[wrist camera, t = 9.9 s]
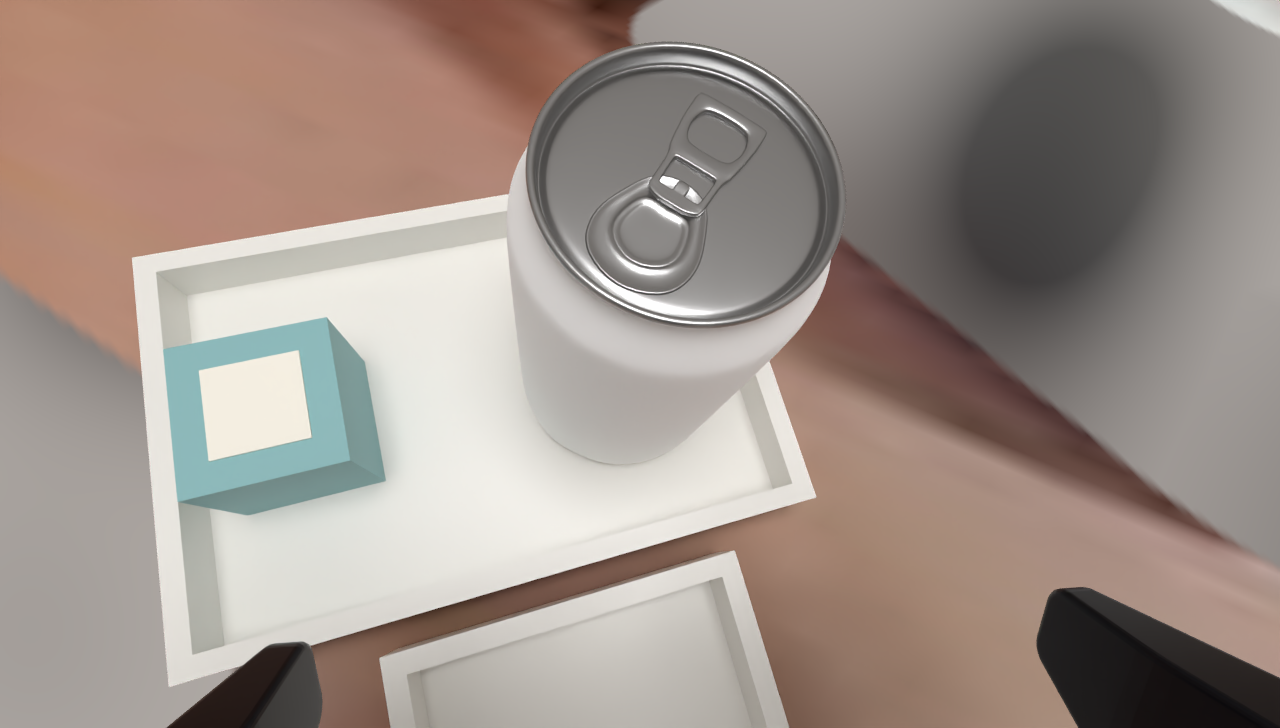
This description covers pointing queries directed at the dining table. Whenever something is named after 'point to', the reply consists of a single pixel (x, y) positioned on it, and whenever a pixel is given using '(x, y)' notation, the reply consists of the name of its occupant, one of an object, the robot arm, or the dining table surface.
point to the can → (664, 242)
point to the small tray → (600, 661)
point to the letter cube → (270, 418)
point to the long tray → (414, 443)
